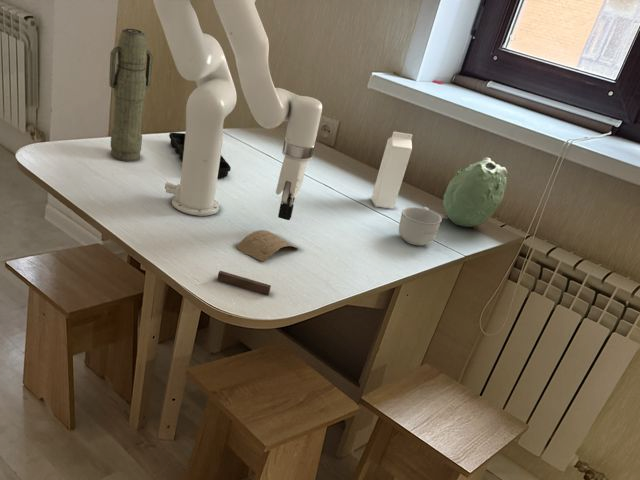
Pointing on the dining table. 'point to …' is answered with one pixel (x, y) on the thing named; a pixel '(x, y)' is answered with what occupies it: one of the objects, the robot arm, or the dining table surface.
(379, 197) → the milk
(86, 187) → the dining table surface
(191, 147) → the robot arm
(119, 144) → the thermos
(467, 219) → the green vase
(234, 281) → the bar
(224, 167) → the egg carton
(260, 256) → the brown curved bark
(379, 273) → the dining table surface
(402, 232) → the teacup
